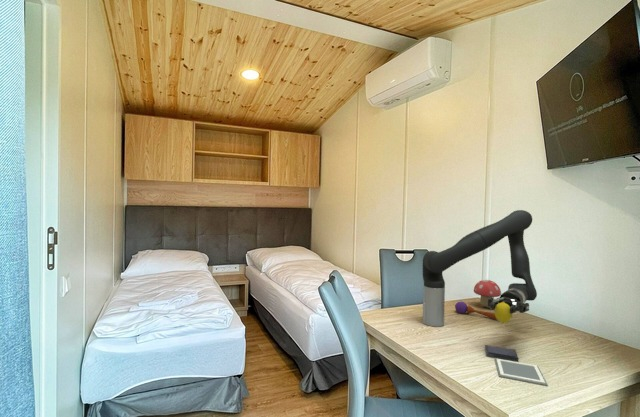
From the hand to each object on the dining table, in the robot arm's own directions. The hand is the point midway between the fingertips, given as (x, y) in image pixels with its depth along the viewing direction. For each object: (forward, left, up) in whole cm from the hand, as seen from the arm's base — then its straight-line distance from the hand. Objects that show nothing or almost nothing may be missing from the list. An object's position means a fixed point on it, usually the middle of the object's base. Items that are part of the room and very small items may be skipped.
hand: (501, 308), depth 117 cm
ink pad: (0, +3, -18) cm, 18 cm away
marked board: (+4, -9, -18) cm, 20 cm away
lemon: (+1, +2, -6) cm, 7 cm away
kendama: (-6, +48, -18) cm, 52 cm away
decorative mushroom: (0, +66, -18) cm, 68 cm away
